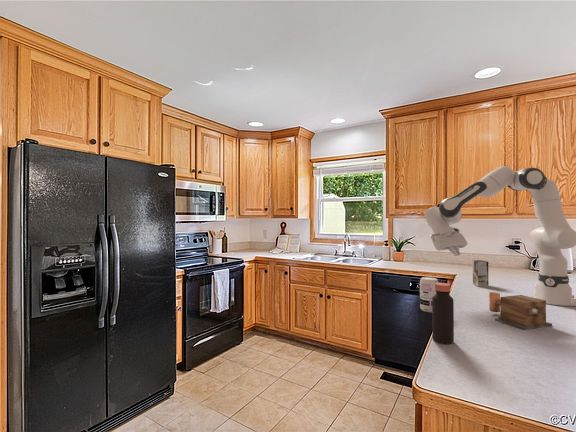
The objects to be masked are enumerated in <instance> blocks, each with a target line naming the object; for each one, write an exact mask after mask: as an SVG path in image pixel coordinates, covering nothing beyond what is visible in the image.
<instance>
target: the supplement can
mask: <svg viewBox="0 0 576 432" xmlns="http://www.w3.org/2000/svg"><path fill="white" fill-rule="evenodd" d="M435 283H440V282H439V280H438V278H436V277H430V276H429V277H427V276H425V277H424V276H423V277H420V280H419V308H420V310H421V311H422V312H424V313H425V312H426V313H432V297H433V296H434V295H435V294H436V291H435Z"/></svg>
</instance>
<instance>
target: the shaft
mask: <svg viewBox="0 0 576 432" xmlns="http://www.w3.org/2000/svg"><path fill="white" fill-rule="evenodd" d="M500 297H501V293H499V292H493V291H490V292H488V298H489V299H488V301H489V302H488V303H489V305H488V307H489V309H488V310H489V312H491V313H493V312H494V313H500ZM537 313H538V310H537V309H536V308H532V314H533V315H537Z"/></svg>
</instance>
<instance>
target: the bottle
mask: <svg viewBox="0 0 576 432" xmlns="http://www.w3.org/2000/svg"><path fill="white" fill-rule="evenodd" d="M435 291H436V294H435V295H434V296H433V297H432V315H431V316H432V317H431V318H432V320H431V321H432V325H431V326H432V330H431V331H432V332H431V333H432V340H433V342H436V343H438V344H442V343H443V344H444V345H451V343H452V344H453V343H454V341H455V340H454V339H455V337H454V336H455V334H454V333H455V332H454V331H455V330H454V326H455V322H454V319H455V317H454V315H455V313H454V311H455V309H454V305H455V304H454V302H455V301H454V298H453V297H452V296H451V294H450V293H451V284H450V283H445V282H439V283H435ZM443 344H442V345H443Z"/></svg>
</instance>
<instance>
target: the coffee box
mask: <svg viewBox="0 0 576 432" xmlns="http://www.w3.org/2000/svg"><path fill="white" fill-rule="evenodd" d="M472 284H473V285H474V286H476V287H478V288H489V261H487V260H482V259H472Z"/></svg>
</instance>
